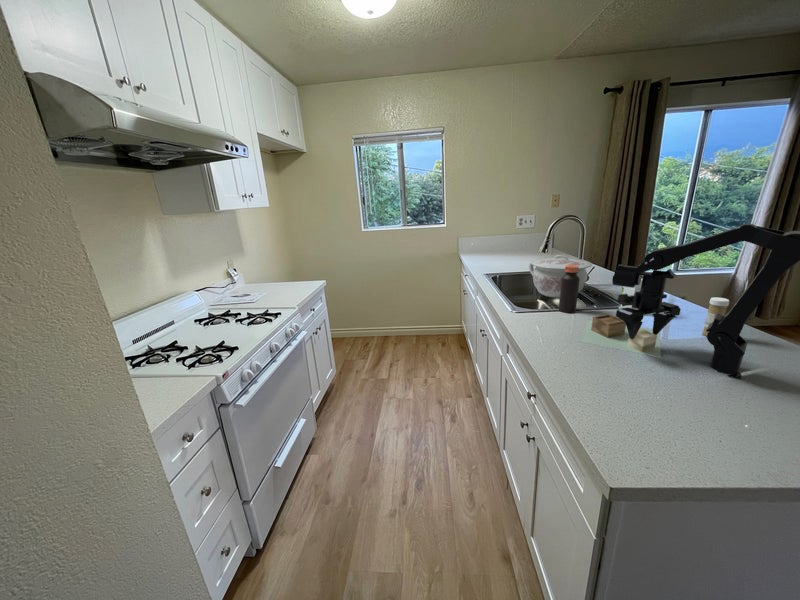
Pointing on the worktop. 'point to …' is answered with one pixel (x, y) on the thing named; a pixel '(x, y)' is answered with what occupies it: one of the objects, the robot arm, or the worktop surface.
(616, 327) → the walnut socket block
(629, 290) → the syrup box
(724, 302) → the sprinkles bottle
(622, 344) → the board
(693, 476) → the worktop surface
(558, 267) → the chamber pot
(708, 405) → the worktop surface
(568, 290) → the vinegar
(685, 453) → the worktop surface
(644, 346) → the ash block
